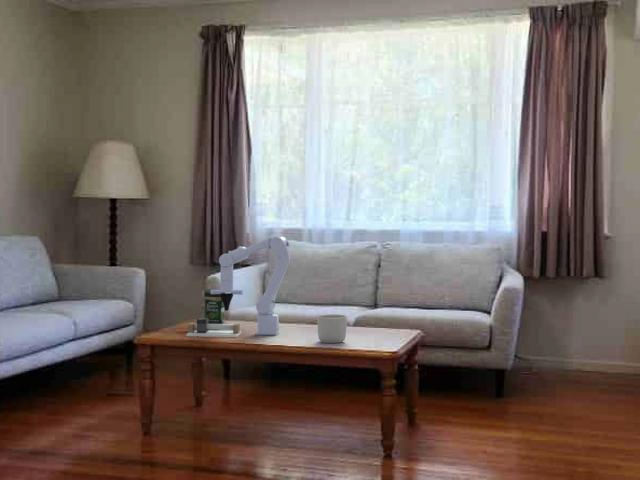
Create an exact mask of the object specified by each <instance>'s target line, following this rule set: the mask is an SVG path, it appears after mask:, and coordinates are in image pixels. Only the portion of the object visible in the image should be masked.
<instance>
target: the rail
mask: <svg viewBox="0 0 640 480" xmlns="http://www.w3.org/2000/svg"><path fill="white" fill-rule="evenodd" d="M187 329H188V330H187V333H186V335H185V336H186V337H197V336H198V338H199V337H200V338H204V337H206V338H207V337H209V338H216V337H217V338H237V337H239V335H241V334H242V330H241V324H240V323H233V324H232V323H231V324H230V323H225V324H206V329H209V331H207V332H206V333H203V332H197V323H196V322H190V323H188V325H187Z"/></svg>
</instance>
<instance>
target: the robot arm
mask: <svg viewBox="0 0 640 480" xmlns="http://www.w3.org/2000/svg"><path fill="white" fill-rule="evenodd" d="M266 249H267V250H268V249H269V250H270V249H271V250H272V251H273V252H274V253H275V255H276V257H277V259H278V260H277V263H276V265H275V266H274V267H275V268H274V270H273V273H272V275H271V278H269V279H270V280H269V283H268V284H267V287H266V289H265V292H264V293H263V295H262V296H261V298H260V300H259V301H258V302H257V303H256V306H255V309H256V311H257V321H256V322H257V326H256V327H257V328H256V329H257V332H255V335H259V336H261V335H267V336H268V335H269V336H271V335H272V336H276V335H278V334H279V333H280V332H279V331H280V329H279V328H280V326H279V324H280V323H279V321H280V319H279V314H277V313H276V314H275V313H274V310H275V306H276V304H275V302H276V299H277V293H278V291H279V289H280V286H281V284H282V281H283V279H284V277H285V274H286V272H287V269H288V267H289V264H290V262H291V259H292V257H291V256H292V255H291V250H290V242H289V241H288V239H287V238H286V237H284V235H283V236H282V235H280V236H273V237H272V238H271V237H269V238H267V239H264V240H261V241H259V242H257V243H255V244H253V245H250V246H248V247H246V246H238V247H237V248H236V249H234V250H228V253H223V254H222V255H220V256H219V258H218V262H219V265H220V273H219V274H220V276H219V277H220V278H219V279H220V287H219V289H220V290H211V294H221V295H220V297H221V299H222V301H223V304H224V312H225V311H227V312H228V311H229V309H230V305H231V301H232V299H233V297H234V295H238V296H239V295H241V296H243V295H244V290H243V289H234V265H235V264H237V263H240V262H242V261H245V260H247V259H248V258H249V257H250V255H251V254H255V253H257V252H259V251H262V250H266ZM223 292H225V293H223Z"/></svg>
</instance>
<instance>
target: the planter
mask: <svg viewBox="0 0 640 480" xmlns="http://www.w3.org/2000/svg"><path fill="white" fill-rule="evenodd" d="M316 317H317V319H316V322H317V335H318V340H319V341H320V343H325V344H339V343H340V342H341V343H343V342H344V341H346V337H347V336H346V335H347V323H348V322H347V321H348V320H347V319H348V317H347V315H345V314H336V313H335V314H334V313H333V314H331V313H330V314H328V313H327V314H319V315H317V316H316ZM341 343H340V344H341Z"/></svg>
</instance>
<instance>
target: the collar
mask: <svg viewBox="0 0 640 480" xmlns="http://www.w3.org/2000/svg"><path fill="white" fill-rule="evenodd" d="M196 324H197V329H196V330H197V332H203V333H206V332H207V331H209V330H210V329H206V324H209V318H204V317H199V318H197V319H196Z"/></svg>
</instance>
